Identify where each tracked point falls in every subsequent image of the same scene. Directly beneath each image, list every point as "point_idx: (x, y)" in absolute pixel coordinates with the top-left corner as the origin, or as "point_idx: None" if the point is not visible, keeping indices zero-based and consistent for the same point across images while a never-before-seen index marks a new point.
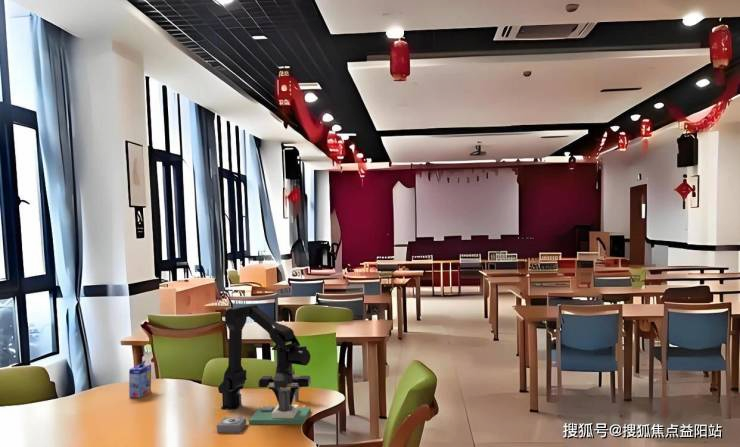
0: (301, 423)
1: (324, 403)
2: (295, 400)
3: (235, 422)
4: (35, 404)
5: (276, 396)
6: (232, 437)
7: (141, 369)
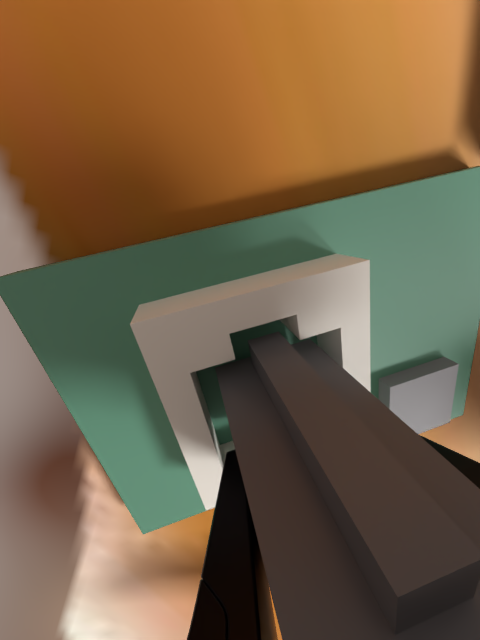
0: (35, 267)
1: (134, 608)
2: None
3: None
4: None
5: (477, 467)
6: None
7: None
